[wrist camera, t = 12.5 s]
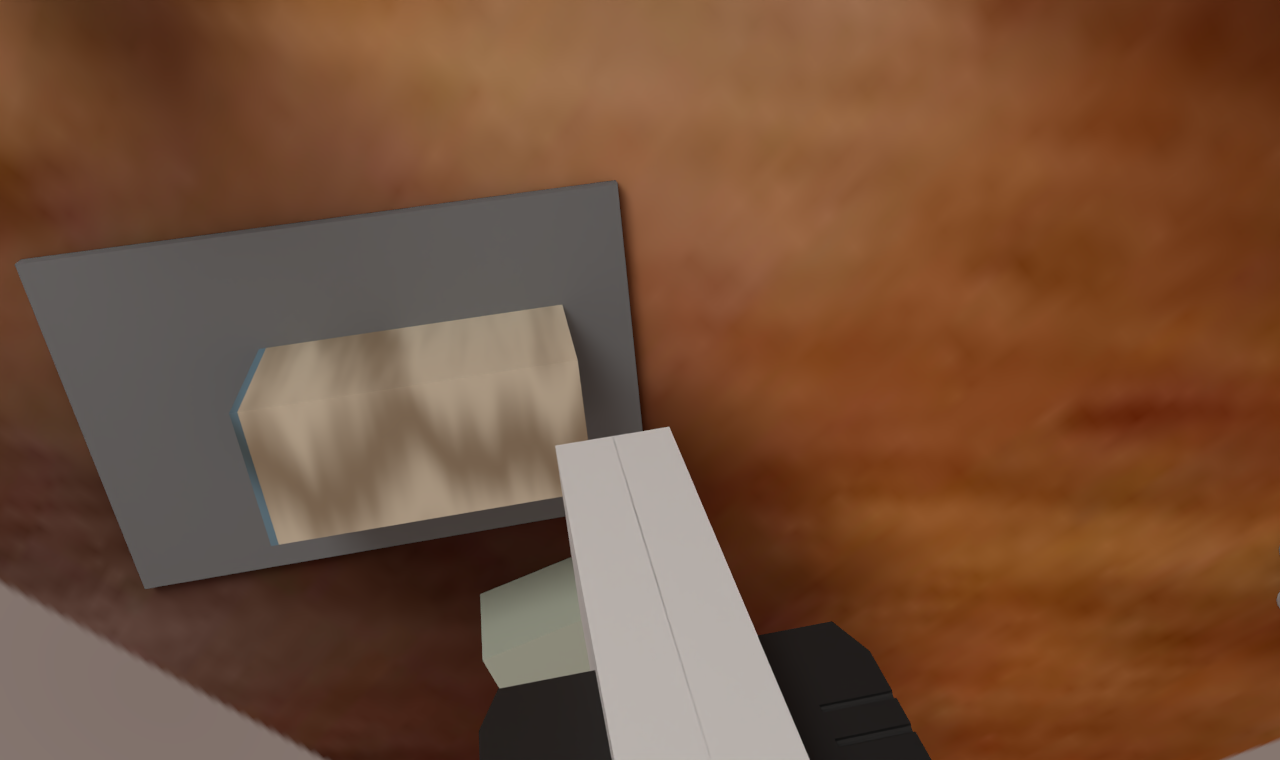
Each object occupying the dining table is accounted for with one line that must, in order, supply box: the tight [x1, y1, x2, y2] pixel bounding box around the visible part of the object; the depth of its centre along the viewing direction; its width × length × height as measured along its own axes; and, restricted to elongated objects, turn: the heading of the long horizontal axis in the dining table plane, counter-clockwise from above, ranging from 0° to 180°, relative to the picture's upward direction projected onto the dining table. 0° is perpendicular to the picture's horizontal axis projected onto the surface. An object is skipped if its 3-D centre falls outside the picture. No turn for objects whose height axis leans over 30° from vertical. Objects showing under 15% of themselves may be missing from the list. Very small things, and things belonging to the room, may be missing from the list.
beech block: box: [229, 305, 588, 546], centre depth 40 cm, size 6×6×13 cm
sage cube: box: [480, 557, 590, 688], centre depth 48 cm, size 5×5×5 cm
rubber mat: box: [15, 180, 643, 589], centre depth 43 cm, size 16×24×1 cm, turn 95°
